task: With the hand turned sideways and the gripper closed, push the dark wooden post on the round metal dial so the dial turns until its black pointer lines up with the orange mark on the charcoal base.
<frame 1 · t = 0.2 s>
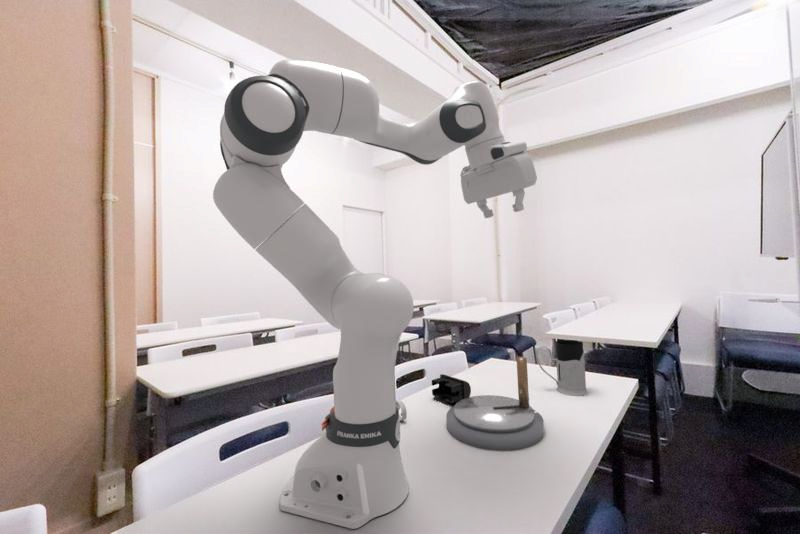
hand: (503, 214, 81), 52 cm above the table, tool tilted 20°, fingers open, 8 cm apart
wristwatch: (399, 421, 91), on the table
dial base: (493, 426, 85), on the table
dial: (491, 387, 85), point 10 cm above the table, hinge at 0.0°
glass holder: (562, 391, 107), on the table
end cap: (451, 401, 103), on the table
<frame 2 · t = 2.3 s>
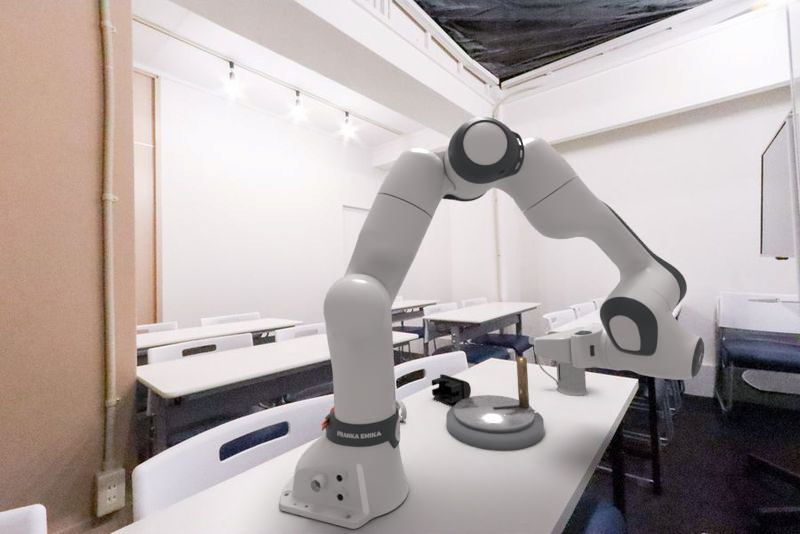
hand: (540, 337, 82), 22 cm above the table, tool horizontal, fingers open, 6 cm apart
nothing on the table moved.
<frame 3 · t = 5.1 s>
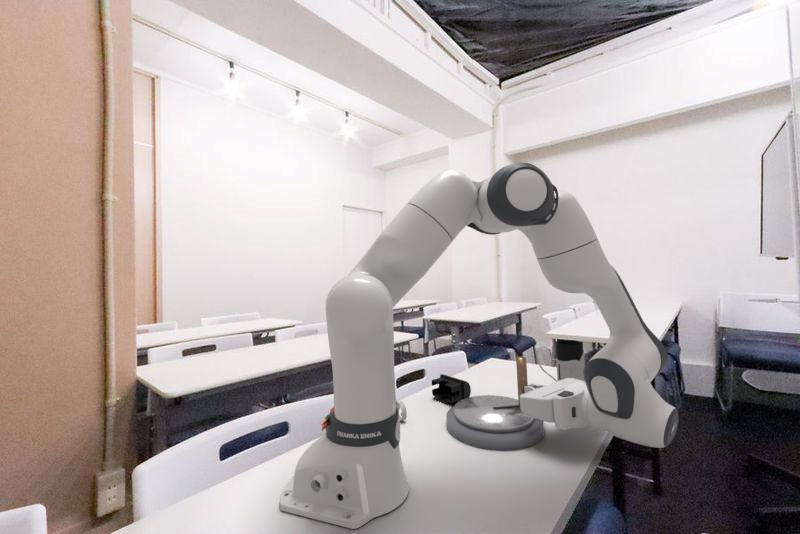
hand: (527, 388, 85), 9 cm above the table, tool horizontal, fingers closed, pressing on dial
dial: (491, 387, 85), point 10 cm above the table, hinge at 1.6°, touching gripper
everything else where it was.
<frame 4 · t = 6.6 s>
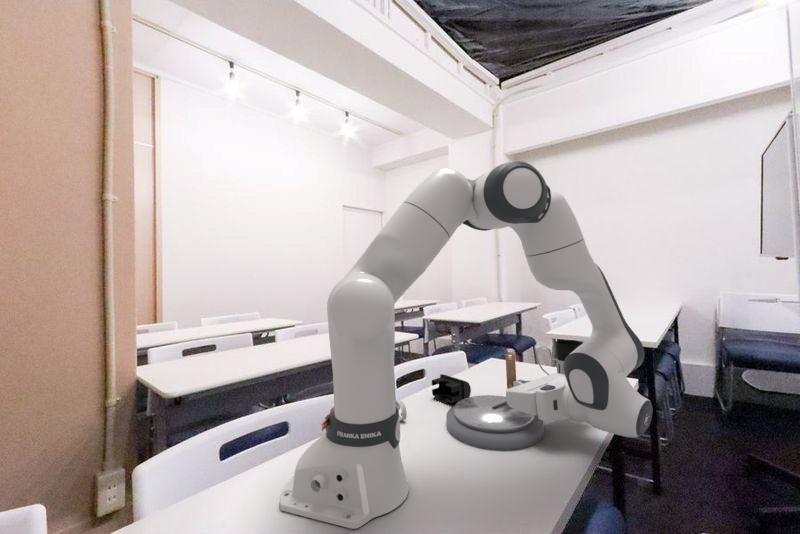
hand: (516, 383, 89), 9 cm above the table, tool horizontal, fingers closed, pressing on dial
dial: (491, 387, 85), point 10 cm above the table, hinge at 31.9°, touching gripper
everything else where it was.
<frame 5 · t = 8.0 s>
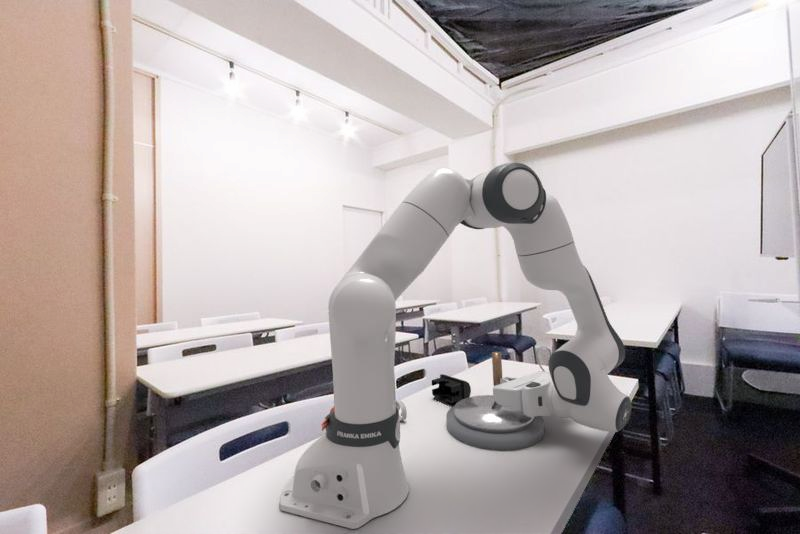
hand: (503, 380, 92), 9 cm above the table, tool horizontal, fingers closed
dial: (491, 387, 85), point 10 cm above the table, hinge at 59.2°, touching gripper
everything else where it was.
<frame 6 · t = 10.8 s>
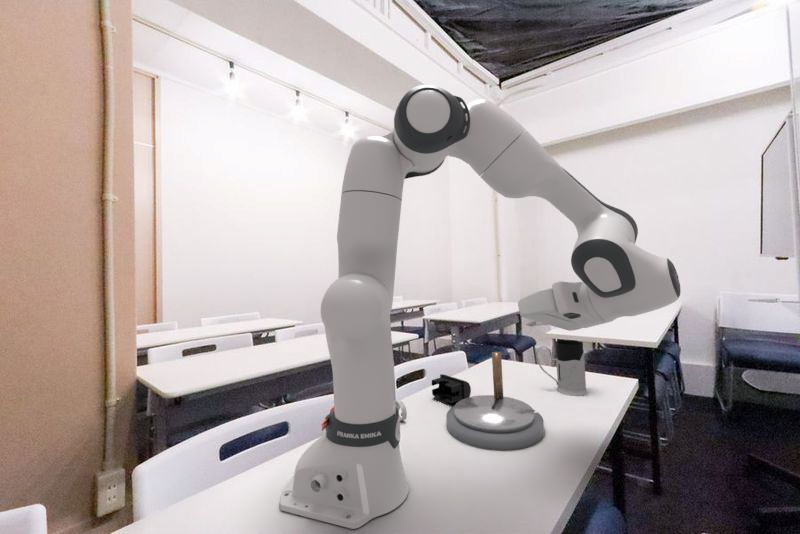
hand: (526, 322, 79), 26 cm above the table, tool tilted 70°, fingers closed
dial: (491, 387, 85), point 10 cm above the table, hinge at 59.2°
everything else where it was.
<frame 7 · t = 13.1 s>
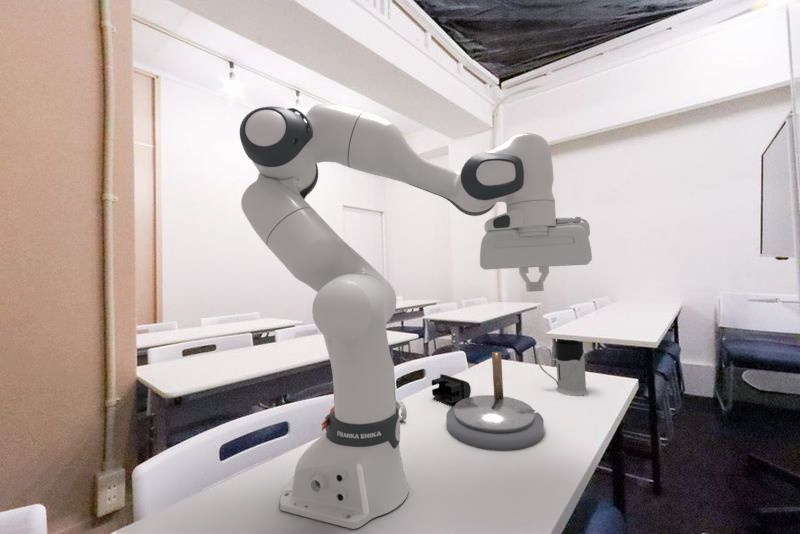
hand: (534, 291, 66), 34 cm above the table, tool pointing down, fingers closed
nothing on the table moved.
at the end: dial at +59° (first picture: +0°) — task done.
